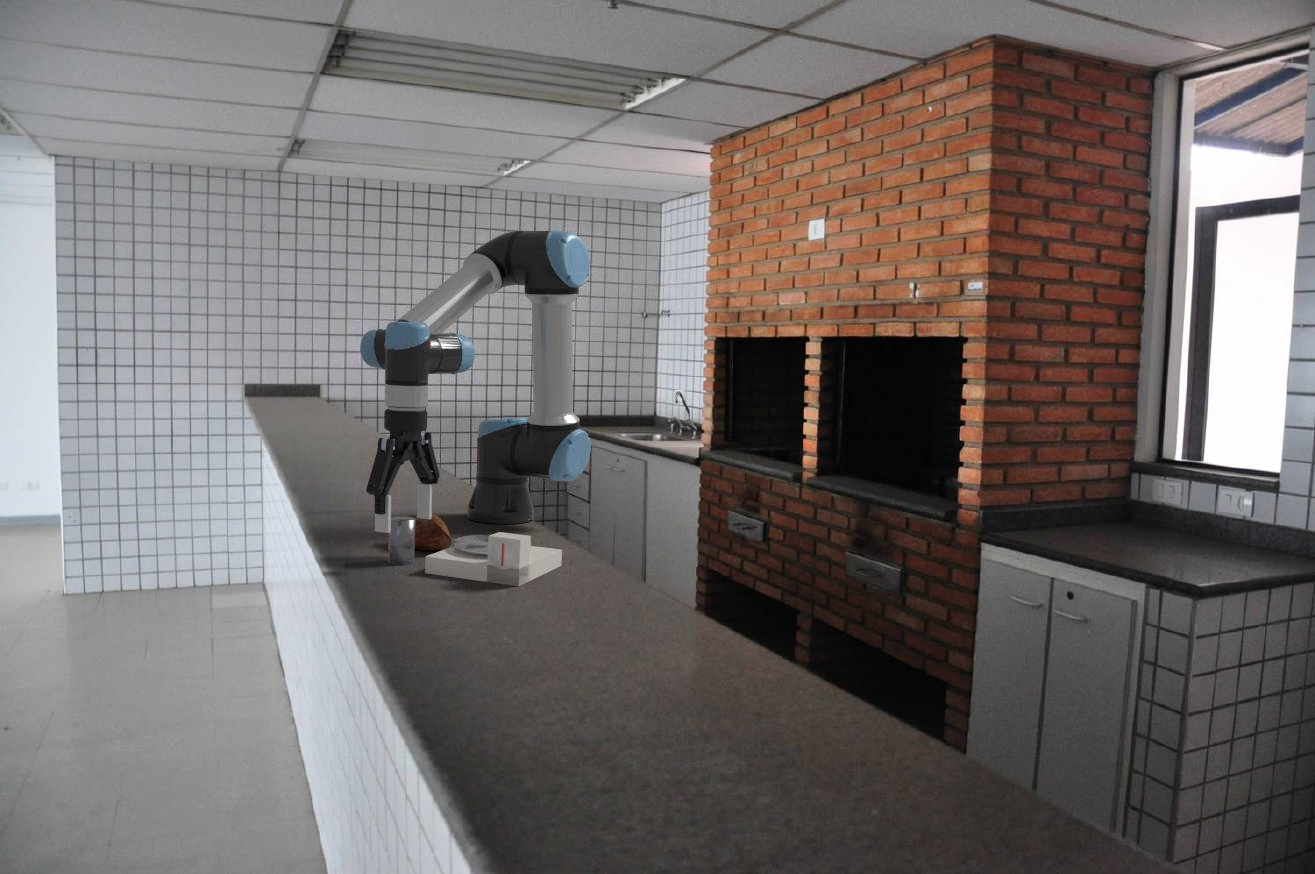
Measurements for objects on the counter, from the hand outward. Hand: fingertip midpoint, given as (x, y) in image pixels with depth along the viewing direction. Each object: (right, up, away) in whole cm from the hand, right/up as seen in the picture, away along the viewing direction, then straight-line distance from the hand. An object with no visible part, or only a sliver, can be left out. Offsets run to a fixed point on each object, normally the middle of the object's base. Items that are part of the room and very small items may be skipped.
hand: (404, 525), depth 182 cm
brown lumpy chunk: (+1, -6, +12) cm, 14 cm away
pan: (+16, -5, 0) cm, 17 cm away
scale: (+17, -8, -1) cm, 19 cm away
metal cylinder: (-1, -7, 0) cm, 7 cm away
